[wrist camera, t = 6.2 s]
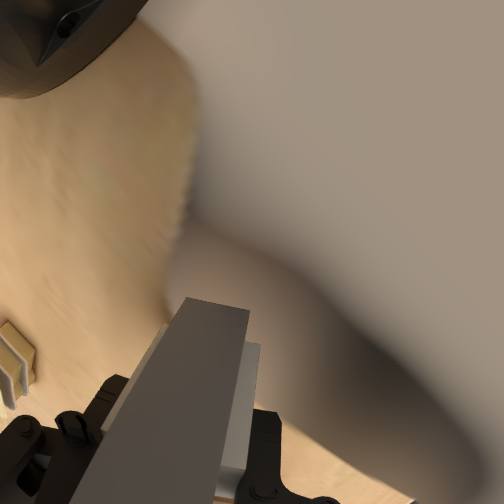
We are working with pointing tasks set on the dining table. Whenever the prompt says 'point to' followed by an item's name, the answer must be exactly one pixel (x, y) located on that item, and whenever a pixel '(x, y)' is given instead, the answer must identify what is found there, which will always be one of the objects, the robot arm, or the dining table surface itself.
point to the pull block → (173, 415)
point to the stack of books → (14, 367)
